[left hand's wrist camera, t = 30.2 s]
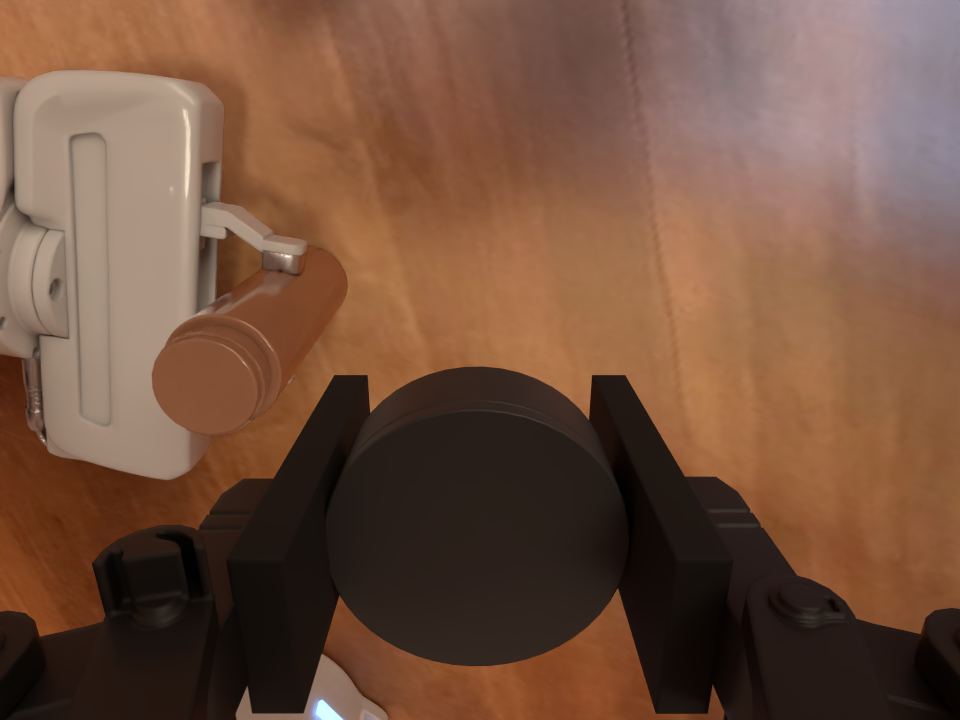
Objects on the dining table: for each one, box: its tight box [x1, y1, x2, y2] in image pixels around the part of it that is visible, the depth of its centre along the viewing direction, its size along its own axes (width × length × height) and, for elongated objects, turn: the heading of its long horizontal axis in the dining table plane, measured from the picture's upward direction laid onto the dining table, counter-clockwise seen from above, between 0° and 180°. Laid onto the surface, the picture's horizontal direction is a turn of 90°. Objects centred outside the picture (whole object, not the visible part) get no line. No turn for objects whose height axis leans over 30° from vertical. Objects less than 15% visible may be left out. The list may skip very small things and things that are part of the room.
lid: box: [325, 367, 630, 666], centre depth 11 cm, size 5×5×2 cm
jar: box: [152, 246, 347, 436], centre depth 30 cm, size 4×4×17 cm
